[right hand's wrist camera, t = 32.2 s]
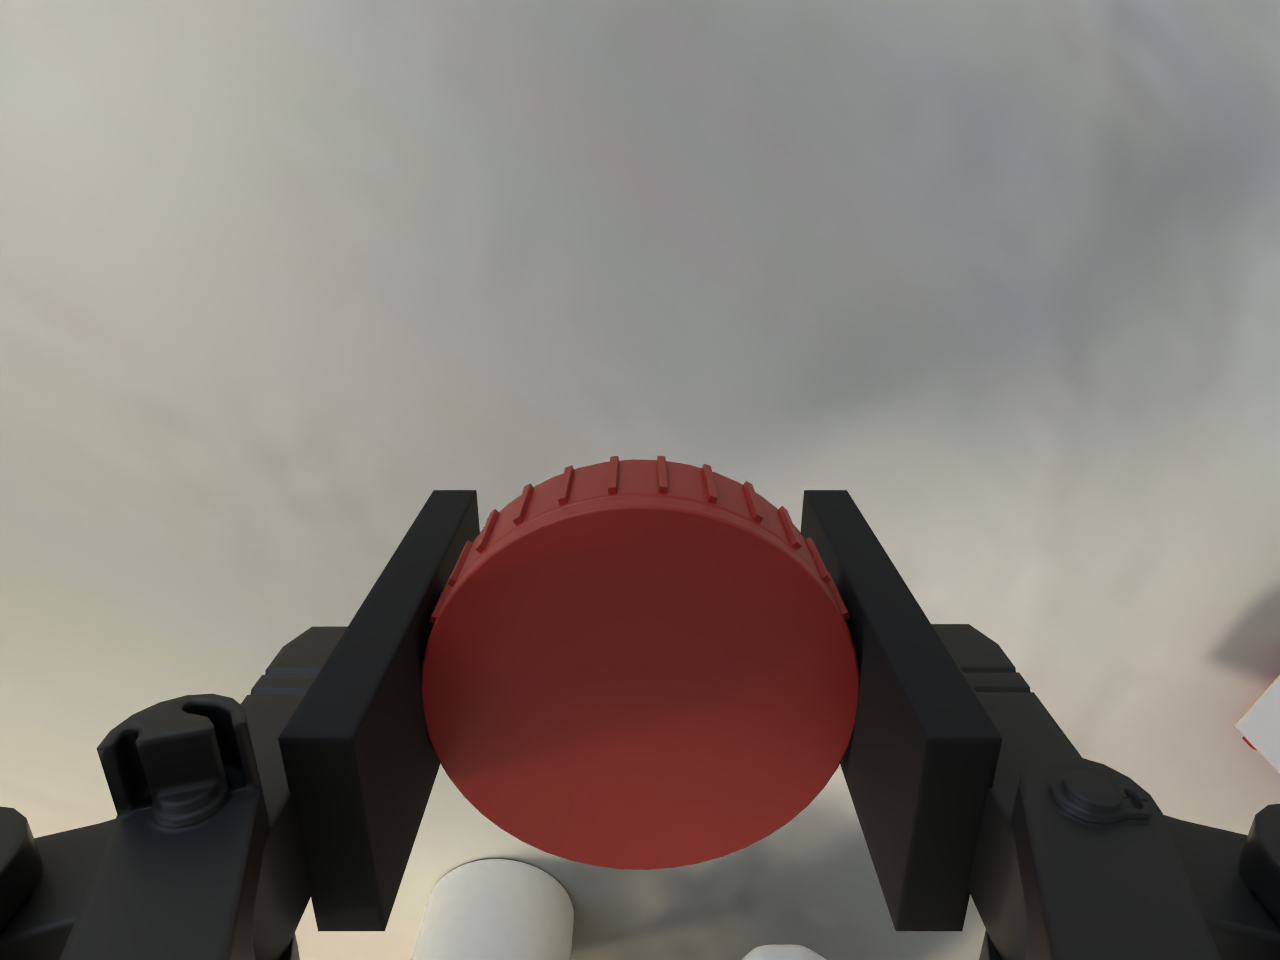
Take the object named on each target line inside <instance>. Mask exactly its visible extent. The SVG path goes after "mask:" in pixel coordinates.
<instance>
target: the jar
mask: <svg viewBox="0 0 1280 960" xmlns="http://www.w3.org/2000/svg"><path fill="white" fill-rule="evenodd" d="M573 924H574V909H573V905H572V902H571V900H570V898H569V895H568V894H567V892H566V891H565V889H564V888H563V887H562V886H561V884H560V883H559V882H558V881H557V880H555V879H554V878H553V877H552V876H550V875H549V874H547V873H546V872H544V871H542V870H540V869H539V868H537V867H534V866H531V865H529V864H526V863H522V862H519V861H513V860H505V859H487V860H479V861H475V862H470V863H467V864H464V865H461V866H459V867H457V868H455V869H453V870H452V871H450V872H449V873H447V874H446V875H445V876H443V877H442V878H441V879H440V880H439V881H438V882H437V884H436V885H435V886H434V888H433V889H432V891H431V893H430V895H429V898H428V901H427V904H426V908H425V911H424V915H423V918H422V922H421V925H420V929H419V933H418V936H417V940H416V943H415V947H414V950H413V954H412V957H411V960H571V949H572V937H573Z"/></svg>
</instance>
